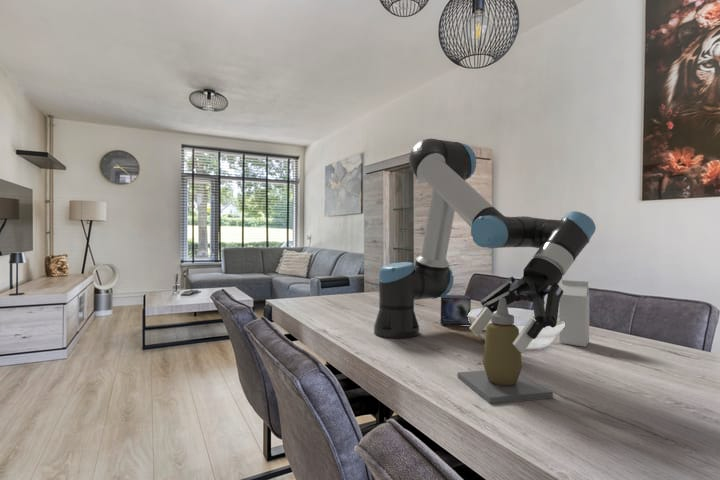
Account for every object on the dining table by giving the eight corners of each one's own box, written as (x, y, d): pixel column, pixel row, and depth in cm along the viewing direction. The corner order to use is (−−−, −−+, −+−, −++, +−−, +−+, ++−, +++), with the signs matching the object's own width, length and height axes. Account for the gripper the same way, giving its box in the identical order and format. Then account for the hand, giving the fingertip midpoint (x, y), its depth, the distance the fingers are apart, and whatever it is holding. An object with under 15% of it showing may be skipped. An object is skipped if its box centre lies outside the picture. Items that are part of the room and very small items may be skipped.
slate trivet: (457, 377, 89) (457, 372, 89) (512, 373, 92) (512, 368, 91) (489, 403, 75) (489, 397, 75) (552, 397, 78) (552, 391, 78)
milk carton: (585, 347, 113) (586, 282, 113) (559, 343, 117) (559, 281, 117) (589, 342, 118) (589, 280, 118) (563, 338, 123) (563, 279, 123)
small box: (440, 325, 140) (441, 297, 140) (440, 321, 146) (440, 294, 146) (471, 327, 138) (471, 297, 138) (468, 322, 145) (469, 295, 145)
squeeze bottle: (493, 371, 89) (493, 294, 89) (528, 381, 83) (529, 298, 83) (475, 381, 83) (476, 298, 83) (512, 391, 78) (512, 303, 77)
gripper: (608, 285, 77) (551, 369, 72) (515, 273, 100) (467, 336, 95) (589, 259, 75) (529, 343, 70) (499, 253, 98) (449, 316, 93)
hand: (493, 339), depth 82 cm, fingers open, 13 cm apart
